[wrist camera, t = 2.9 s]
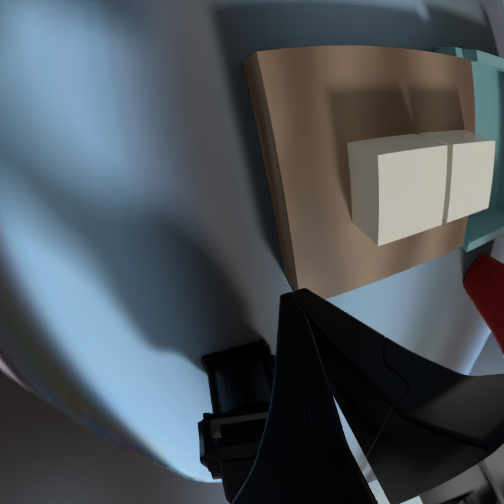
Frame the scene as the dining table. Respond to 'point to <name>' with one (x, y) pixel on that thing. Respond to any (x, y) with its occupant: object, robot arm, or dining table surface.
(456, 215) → the tile
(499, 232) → the box
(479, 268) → the plastic cup
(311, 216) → the walnut plate
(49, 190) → the dining table surface
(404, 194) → the tile
